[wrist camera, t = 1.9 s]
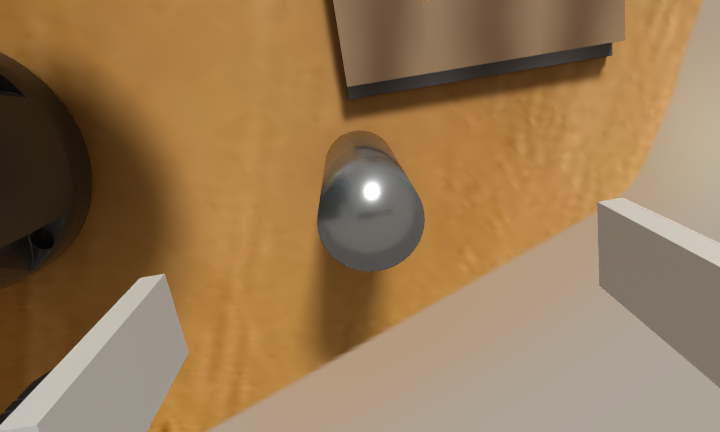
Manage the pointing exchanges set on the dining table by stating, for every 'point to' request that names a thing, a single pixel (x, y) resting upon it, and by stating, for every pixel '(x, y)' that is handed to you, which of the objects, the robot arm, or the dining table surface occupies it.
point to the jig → (467, 39)
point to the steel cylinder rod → (367, 205)
